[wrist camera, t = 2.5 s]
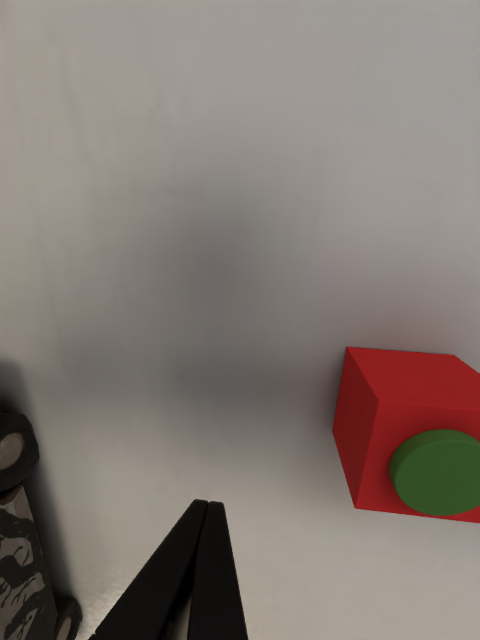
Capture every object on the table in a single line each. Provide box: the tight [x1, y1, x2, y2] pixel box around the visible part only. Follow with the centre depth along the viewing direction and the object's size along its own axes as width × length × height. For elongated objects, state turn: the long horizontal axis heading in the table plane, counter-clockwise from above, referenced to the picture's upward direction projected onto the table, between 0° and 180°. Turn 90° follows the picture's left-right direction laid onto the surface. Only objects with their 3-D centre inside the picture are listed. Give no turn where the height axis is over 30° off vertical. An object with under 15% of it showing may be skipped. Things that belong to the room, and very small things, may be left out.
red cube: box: [332, 347, 480, 523], centre depth 12 cm, size 5×5×5 cm
